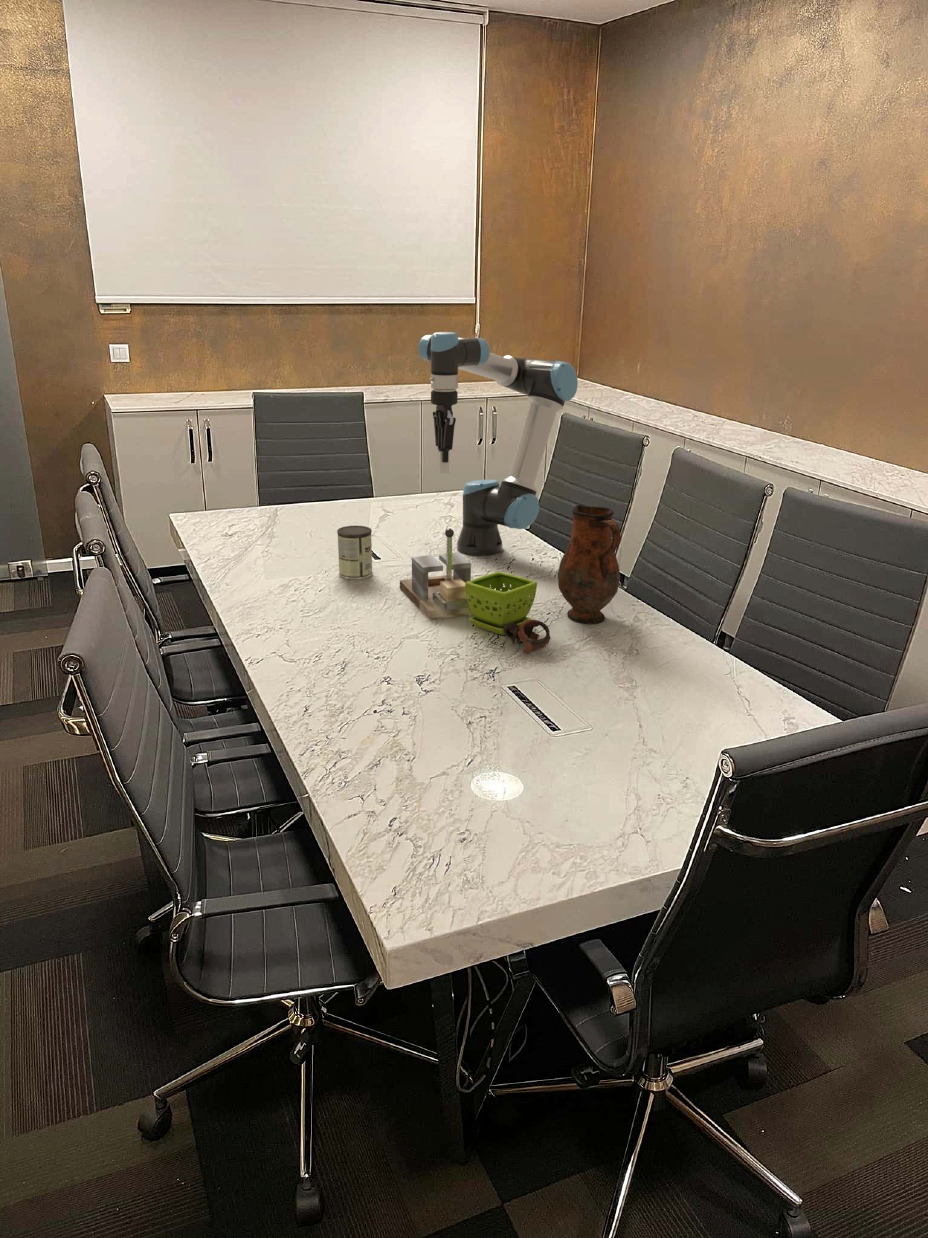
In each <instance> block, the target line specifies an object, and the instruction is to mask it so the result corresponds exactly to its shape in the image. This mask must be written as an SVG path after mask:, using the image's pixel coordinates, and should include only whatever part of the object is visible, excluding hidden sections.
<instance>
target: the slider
mask: <svg viewBox="0 0 928 1238" xmlns="http://www.w3.org/2000/svg"><path fill="white" fill-rule="evenodd" d="M444 535H445V536H446V554H447V562H446V565H445V566H446V569H445V570H446V574H445V575H446V581H448V580H452V576H453V570H452V553H453V537H454V535H455V531H454V530H453V528H446V529H445V532H444ZM433 600H434V601H435V602H436V603H437V604H438V605H439V606H440V607H441V608H442V609H443V610H444V611H445V610H453V609H461V608H470V607H469V604H468V600H458V601H450V602H446V601H445V600H444V599H443V598H442V597H441V596H440V592H435V593H433Z"/></svg>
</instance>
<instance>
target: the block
mask: <svg viewBox="0 0 928 1238" xmlns="http://www.w3.org/2000/svg"><path fill="white" fill-rule="evenodd" d="M440 596H441V597H442V598H443V599H444V600H445V601H446V602H450V601H458V600H467V596H466V588H465V582H464V581H462V580H461V579H457V580H448V581H440Z"/></svg>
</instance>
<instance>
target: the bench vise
mask: <svg viewBox="0 0 928 1238" xmlns="http://www.w3.org/2000/svg"><path fill="white" fill-rule="evenodd" d="M438 557H439V558H438V559H439V561H438V560H437V558H435V557H434V556H433V555H432V554H431V555H429V554H428V555H419V556H412V557H411V578H409V579H399V589H400V590H401V591H402V592H403V593H404V594H405V595H406V597H408V598H409V600H410V601H411V602H412V603H413V604H414V605H415V606H416V607H417V608H418V609H419V610H420V611H421V613H423V614H424V616H425V617H426V618H427V619H428V620H429V621H432V620H440V619H447V618H448V619H449V618H456V617H464V616H472V615H473V613H472V611H471V609H470V608H461V609H453V610H445V611H444V610H443V609H442V608H441V607H440V606H439V605H438V604H437V603H436V602H435V601H434V600H433V593H435V592H440V581H446V574H444V575H438V576H429V573H433V572H443V571H444V565H445V566H446V562H447V553H441V554H439V556H438ZM440 561H441V562H440ZM471 577H472V563H471V561H470V560H468V559H467V558H466V557H465V556H464V555H462V553H461V552H452V580H457V579H461V580H462V581H464V582H465V583H466V582H467V581H470V580H472V578H471ZM473 616H474V615H473Z"/></svg>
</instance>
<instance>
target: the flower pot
mask: <svg viewBox="0 0 928 1238" xmlns="http://www.w3.org/2000/svg"><path fill="white" fill-rule="evenodd" d="M537 586H538V582H537V581H535V580H532V579H529V578H526V577H522V576H517V575H516V574H515V575H514V574H511V573H507V572H503V571H496V572H493V573H488V574H486V575H482V576H479V577H476V578H472V579H471V580H470V581H467V582H466V583H465V588H466V596H467V600H468V604H469V607H470V609H471V611H472V613H473V616H472V617H470V618H468V619H469V622H470V623H472V625H474V626H475V627H478V628H481V629H483V630H485V631H488V632H492V633H494V634H497V635H501V636H503V635H505V633H504V630H503V628H504V626H505V625H506V624H507V623H514V624H517V625H521V624H522V623H524V622H525V621H527V620H532V618H530V617H528V615H529V613H530V611H531V610H532V607H533V604H534V601H535V598H536V594H537V588H538V587H537ZM510 631H511V630H510ZM511 632H512V631H511Z"/></svg>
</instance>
